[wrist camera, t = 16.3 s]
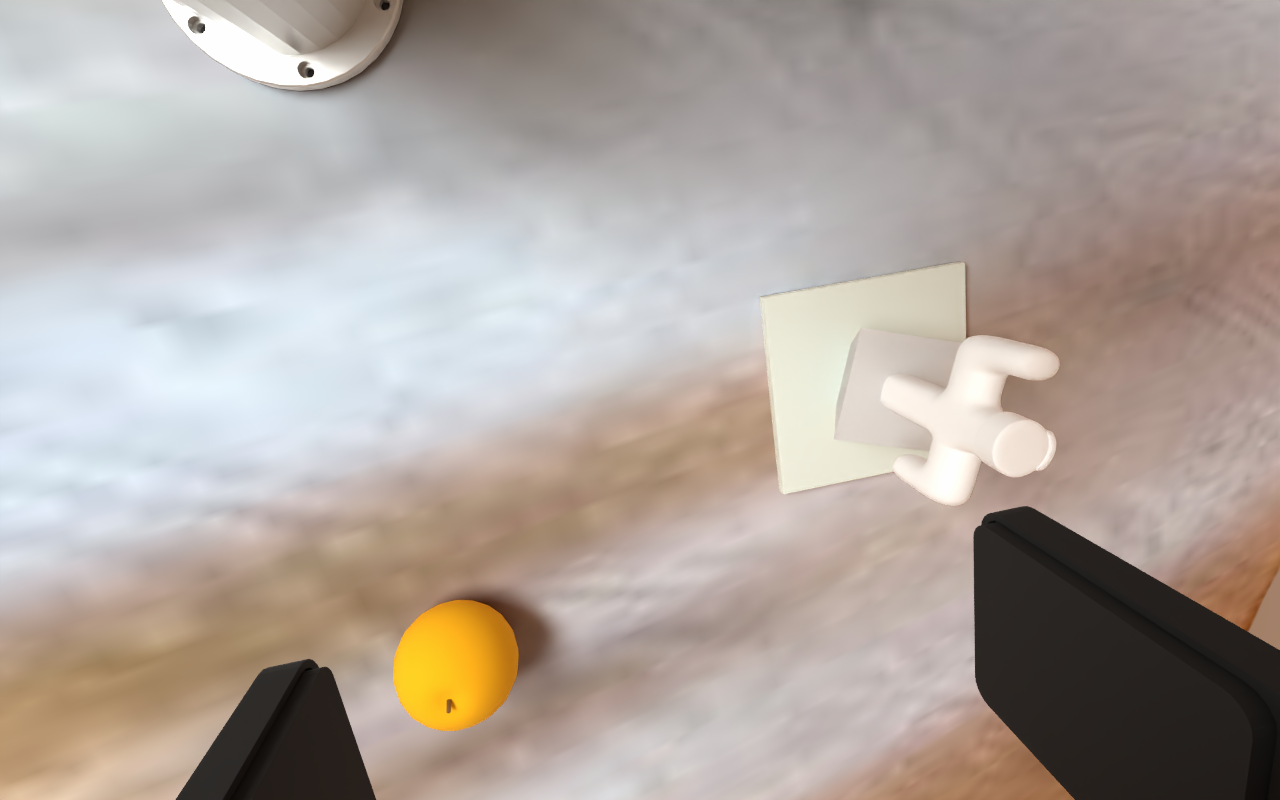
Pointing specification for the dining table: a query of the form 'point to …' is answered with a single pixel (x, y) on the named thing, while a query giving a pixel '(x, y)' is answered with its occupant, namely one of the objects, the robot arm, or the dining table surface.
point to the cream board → (844, 363)
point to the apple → (456, 665)
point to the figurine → (943, 407)
